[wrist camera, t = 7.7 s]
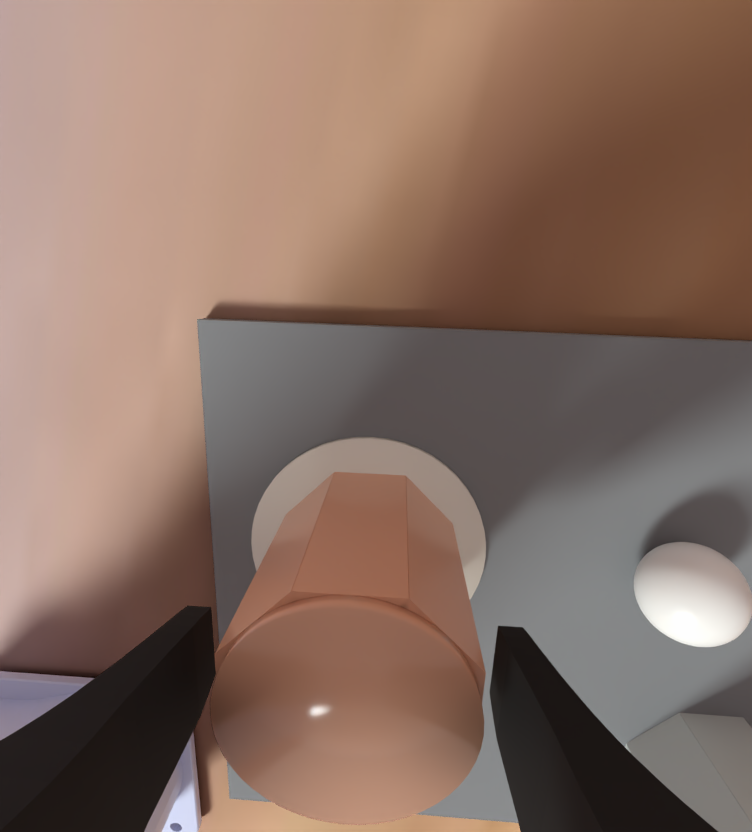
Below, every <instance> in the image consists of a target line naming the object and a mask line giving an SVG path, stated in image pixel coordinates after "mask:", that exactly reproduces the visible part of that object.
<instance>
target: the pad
mask: <svg viewBox="0 0 752 832" xmlns="http://www.w3.org/2000/svg"><path fill="white" fill-rule="evenodd" d="M334 472H349V473H368V474H387V475H406V476H407V477H408V478H409V479H410V480H411V481H412V482H413V483H414V484H415V485H416V486H417V487H418V488H419V489H420V491H421V492H422V493H423V494H424V495H425V496H426V497H427V498H428V499H429V500H430V501H431V502H432V503H433V504H434V505H435V506H436V507H437V508H438V509H439V510H440V511H441V512H442V513H443V514H444V515H445V516H446V517H447V518H448V519H449V520H450V521H451V522H452V524H453V527H454V531H455V536H456V540H457V545H458V549H459V554H460V558H461V563H462V567H463V572H464V576H465V581H466V586H467V590H468V595H469V599H471V598H472V596H473V594H474V592H475V590H476V588H477V586H478V584H479V582H480V579H481V576H482V573H483V569H484V564H485V558H486V539H485V530H484V527H483V523H482V519H481V516H480V513H479V510H478V508H477V506H476V503H475V501H474V499H473V497H472V496H471V494H470V492H469V491H468V489H467V487H466V486H465V485H464V484H463V482H462V481H461V480H460V479H459V477H458V476H457V475H456V474H455V473H454V472H453V471H452V470H451V469H450V468H448V467H447V466H446V465H445V464H444V463H442V462H441V461H440V460H438V459H437V458H435V457H434V456H433V455H431V454H429V453H427V452H425V451H423V450H421V449H419V448H417V447H414V446H412V445H409V444H407V443H404V442H400V441H396V440H392V439H387V438H379V437H351V438H344V439H338V440H335V441H331V442H327V443H324V444H322V445H319V446H317V447H314V448H312V449H310V450H308V451H306V452H305V453H303V454H301V455H299V456H298V457H296V458H295V459H294V460H293V461H291V462H290V463H289V464H287V465H286V466H285V467H284V468H283V469H282V470H281V471H280V472H279V473H278V474H277V475H276V477H275V478H274V479H273V481H272V482H271V484H270V485H269V486H268V488H267V489H266V491H265V492H264V494H263V496H262V498H261V500H260V502H259V504H258V507H257V510H256V513H255V516H254V521H253V526H252V539H251V545H252V554H253V560H254V564H255V567H256V571H257V570H258V568H259V566H260V564H261V562H262V560H263V558H264V556H265V554H266V552H267V550H268V548H269V546H270V544H271V542H272V540H273V539H274V537H275V535H276V533H277V531H278V529H279V527H280V525H281V523H282V521H283V519H284V517H285V515H286V514H287V513H288V512H289V511H290V510H291V509H293V508H294V507H295V506H296V505H297V504H298V503H299V502H301V501H302V500H303V499H304V498H305V497H306V496H307V495H309V494H310V493H311V492H312V491H313V490H314V489H315V488H317V487H318V486H319V485H320V484H321V483H322V482H323V481H325V480H326V479H327V478H328V477H329V476H330V475H331V474H333V473H334Z"/></svg>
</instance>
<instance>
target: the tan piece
mask: <svg viewBox="0 0 752 832" xmlns="http://www.w3.org/2000/svg"><path fill="white" fill-rule="evenodd" d="M215 668H216V679H215V682H214V685H213V688H212V694H211V700H210V716H211V722H212V728H213V732H214V735H215V738H216V741H217V743H218V745H219V747H220V749H221V752H222V754H223V756H224V757H225V758H226V760H227V761H228V763H229V764H230V766H231V767H232V769H233V770H234V771H235V772H236V773H237V774H238V775H239V777H240V778H241V779H242V780H243V781H244V782H246V783H247V784H248V785H249V786H250V787H251V788H252V789H253V790H255V791H256V792H258V793H259V794H260V795H262V796H263V797H265V798H266V799H268V800H269V801H271V802H273V803H275V804H276V805H278V806H280V807H282V808H284V809H287V810H289V811H291V812H294V813H296V814H299V815H302V816H305V817H308V818H311V819H316V820H320V821H324V822H330V823H338V824H351V825H366V824H379V823H385V822H391V821H395V820H399V819H403V818H406V817H409V816H412V815H415V814H417V813H420V812H422V811H424V810H426V809H428V808H430V807H432V806H434V805H436V804H437V803H439V802H440V801H441V800H443V799H444V798H446V797H447V796H449V795H450V794H451V793H452V792H453V791H454V790H455V789H456V788H457V787H458V786H459V785H460V784H461V783H462V782H463V781H464V779H465V778H466V777H467V776H468V774H469V773H470V771H471V769H472V768H473V766H474V764H475V763H476V760H477V758H478V755H479V753H480V750H481V746H482V741H483V737H484V715H483V707H482V700H483V692H484V684H485V676H486V672H485V667H484V663H483V658H482V654H481V649H480V644H479V640H478V635H477V631H476V626H475V622H474V617H473V613H472V608H471V604H470V599H469V595H468V590H467V586H466V581H465V576H464V572H463V567H462V563H461V558H460V554H459V549H458V545H457V540H456V536H455V531H454V527H453V524H452V522H451V521H450V520H449V519H448V518H447V517H446V516H445V515H444V514H443V513H442V512H441V511H440V510H439V509H438V508H437V507H436V506H435V505H434V504H433V503H432V502H431V501H430V500H429V499H428V498H427V497H426V496H425V495H424V494H423V493H422V492H421V491H420V489H419V488H418V487H417V486H416V485H415V484H414V483H413V482H412V481H411V480H410V479H409V478H408V477H407V476H406V475H387V474H368V473H349V472H334V473H333V474H331V475H330V476H329V477H328V478H327V479H326V480H325V481H323V482H322V483H321V484H320V485H319V486H318V487H317V488H315V489H314V490H313V491H312V492H311V493H310V494H309V495H307V496H306V497H305V498H304V499H303V500H302V501H301V502H299V503H298V504H297V505H296V506H295V507H294V508H293V509H291V510H290V511H289V512H288V513H287V514H286V515H285V517H284V519H283V521H282V523H281V525H280V527H279V529H278V531H277V533H276V535H275V537H274V539H273V540H272V542H271V544H270V546H269V548H268V550H267V552H266V554H265V556H264V558H263V560H262V562H261V564H260V566H259V568H258V570H257V572H256V574H255V576H254V578H253V580H252V582H251V584H250V586H249V588H248V590H247V592H246V593H245V595H244V597H243V599H242V601H241V603H240V605H239V607H238V609H237V611H236V613H235V615H234V617H233V619H232V621H231V623H230V625H229V627H228V629H227V631H226V633H225V635H224V637H223V639H222V641H221V643H220V644H219V646H218V648H217V650H216V652H215Z"/></svg>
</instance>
